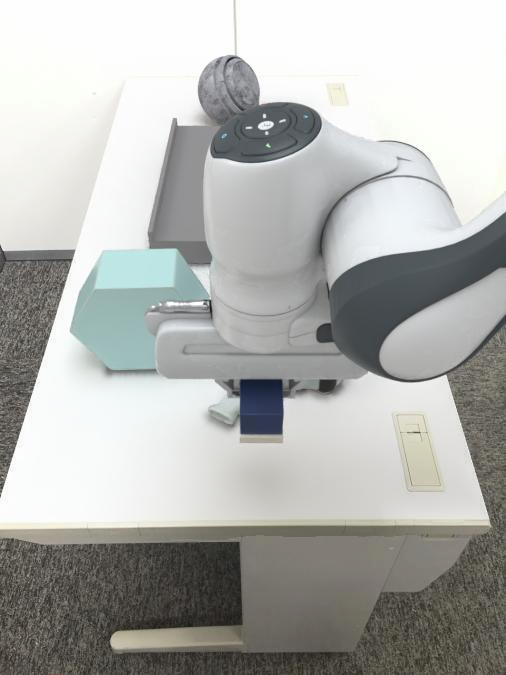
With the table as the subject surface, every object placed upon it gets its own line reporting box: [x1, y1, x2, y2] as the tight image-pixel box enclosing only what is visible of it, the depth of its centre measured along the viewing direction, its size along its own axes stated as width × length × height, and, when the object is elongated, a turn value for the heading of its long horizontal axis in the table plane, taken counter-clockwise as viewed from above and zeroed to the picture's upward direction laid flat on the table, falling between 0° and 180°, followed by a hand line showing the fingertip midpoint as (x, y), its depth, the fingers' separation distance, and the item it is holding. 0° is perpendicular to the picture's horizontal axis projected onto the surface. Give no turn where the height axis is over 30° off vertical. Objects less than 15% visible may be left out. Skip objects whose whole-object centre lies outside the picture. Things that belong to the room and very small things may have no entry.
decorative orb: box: [197, 54, 261, 125], centre depth 125 cm, size 15×14×15 cm
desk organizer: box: [147, 117, 222, 264], centre depth 107 cm, size 32×40×7 cm
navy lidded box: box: [238, 379, 285, 444], centre depth 55 cm, size 10×4×5 cm, turn 0°
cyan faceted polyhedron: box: [69, 248, 211, 371], centre depth 77 cm, size 17×8×21 cm
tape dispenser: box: [207, 379, 344, 425], centre depth 79 cm, size 18×5×20 cm
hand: (261, 393), depth 56 cm, fingers closed on navy lidded box, 4 cm apart
